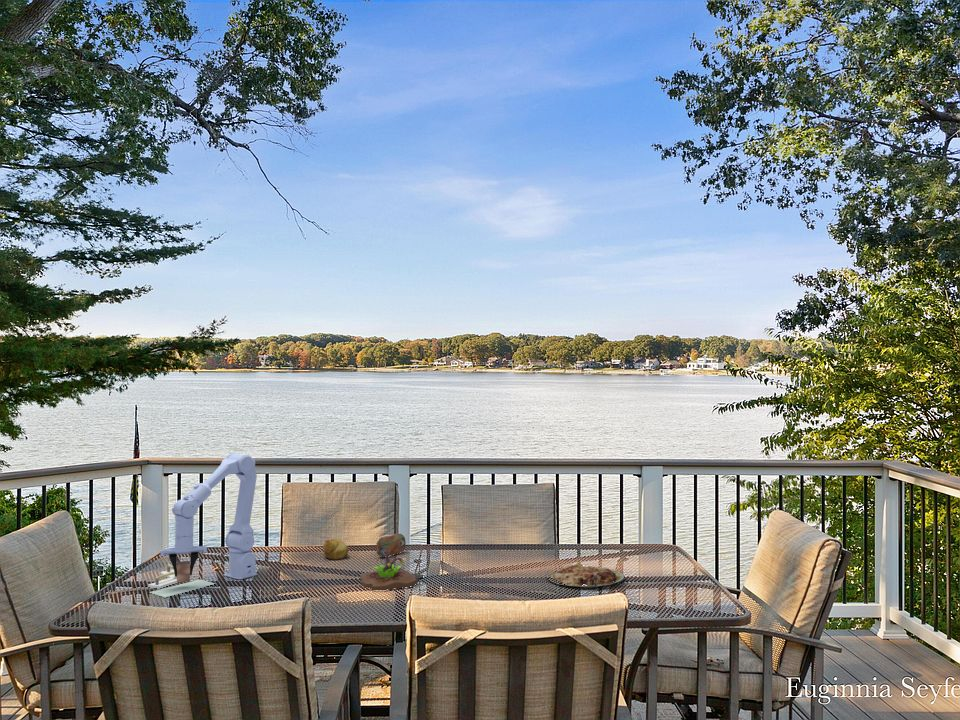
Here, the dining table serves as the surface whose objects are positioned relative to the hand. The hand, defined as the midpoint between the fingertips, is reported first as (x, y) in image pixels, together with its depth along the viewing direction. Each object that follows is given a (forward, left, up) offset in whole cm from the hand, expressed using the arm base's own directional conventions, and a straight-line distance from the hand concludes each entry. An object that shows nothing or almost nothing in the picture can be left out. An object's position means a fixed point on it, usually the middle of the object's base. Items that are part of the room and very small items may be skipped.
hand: (183, 575), depth 243 cm
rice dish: (-107, -91, -5) cm, 140 cm away
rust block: (0, 0, -2) cm, 2 cm away
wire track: (+15, -2, -5) cm, 15 cm away
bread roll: (-9, -62, -5) cm, 63 cm away
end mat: (0, 0, -5) cm, 5 cm away
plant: (-51, -46, -5) cm, 69 cm away
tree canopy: (-26, -77, -5) cm, 81 cm away
